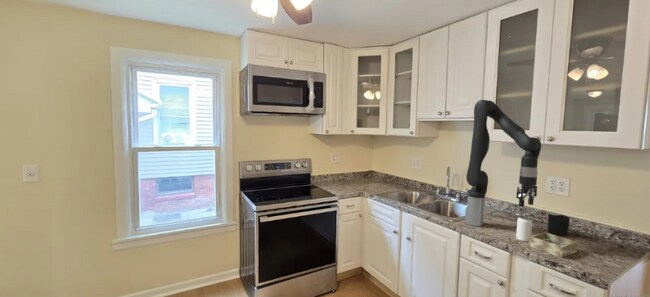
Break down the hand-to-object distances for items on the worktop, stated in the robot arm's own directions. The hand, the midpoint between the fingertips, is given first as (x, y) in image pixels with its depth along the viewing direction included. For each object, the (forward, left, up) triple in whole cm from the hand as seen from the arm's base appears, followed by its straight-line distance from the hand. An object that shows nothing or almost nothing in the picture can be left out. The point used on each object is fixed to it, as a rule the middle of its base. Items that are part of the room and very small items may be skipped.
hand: (525, 205), depth 151 cm
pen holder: (+3, +28, -19) cm, 34 cm away
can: (0, 0, -19) cm, 19 cm away
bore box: (+13, 0, -19) cm, 23 cm away
